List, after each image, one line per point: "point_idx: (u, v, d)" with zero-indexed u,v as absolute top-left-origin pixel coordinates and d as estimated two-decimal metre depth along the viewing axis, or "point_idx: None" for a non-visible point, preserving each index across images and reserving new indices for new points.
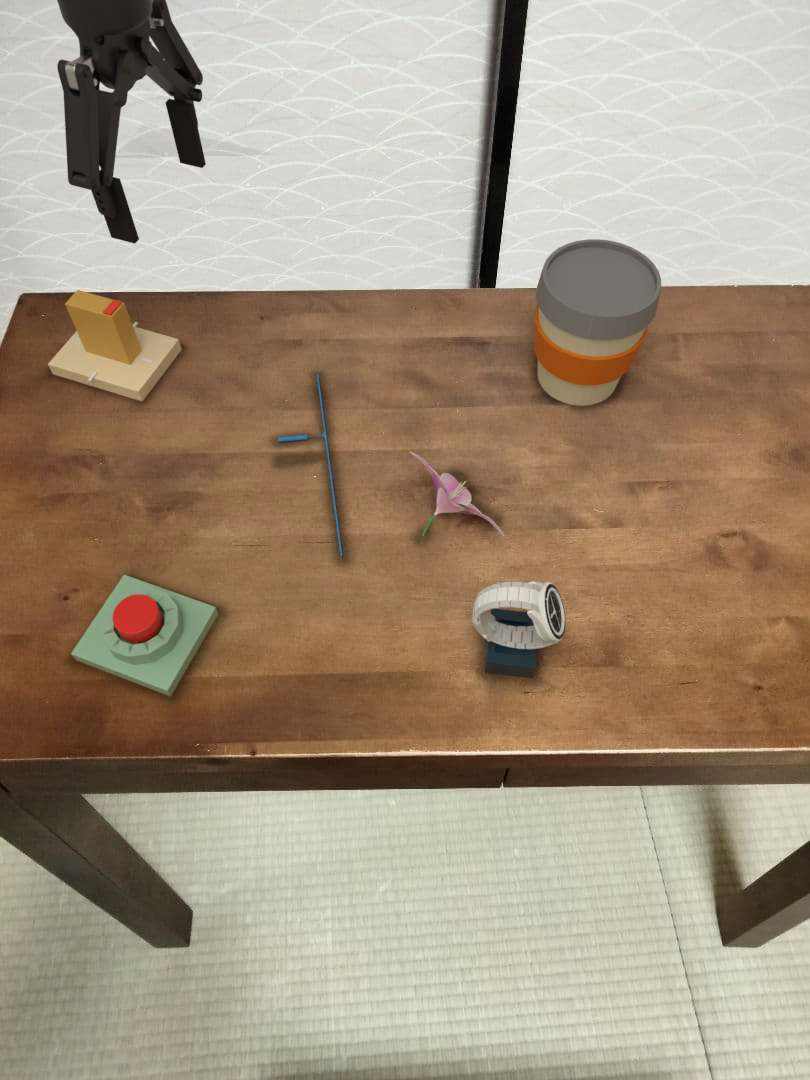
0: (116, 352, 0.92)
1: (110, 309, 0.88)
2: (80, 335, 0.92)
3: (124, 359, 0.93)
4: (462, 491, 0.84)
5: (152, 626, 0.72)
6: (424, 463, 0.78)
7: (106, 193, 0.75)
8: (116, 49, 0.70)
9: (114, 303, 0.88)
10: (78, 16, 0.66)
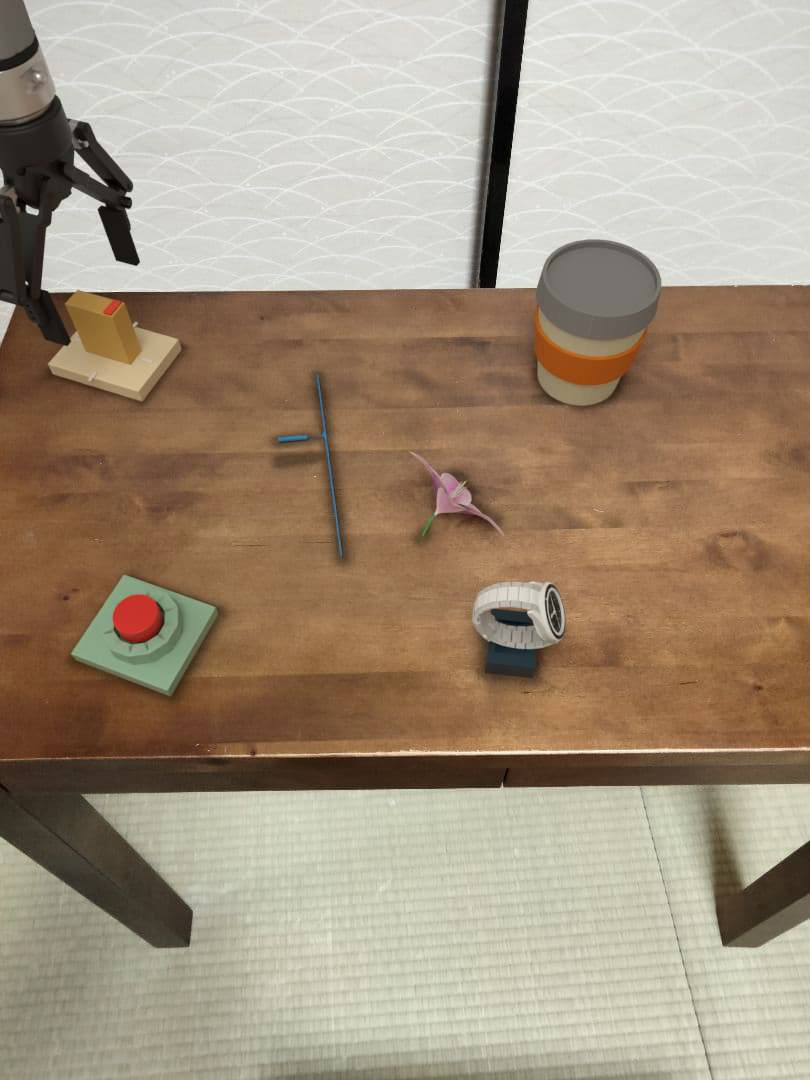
0: (116, 352, 0.92)
1: (110, 309, 0.88)
2: (80, 335, 0.92)
3: (124, 359, 0.93)
4: (462, 491, 0.84)
5: (152, 626, 0.72)
6: (424, 463, 0.78)
7: (35, 305, 0.79)
8: (39, 176, 0.74)
9: (114, 303, 0.88)
10: None
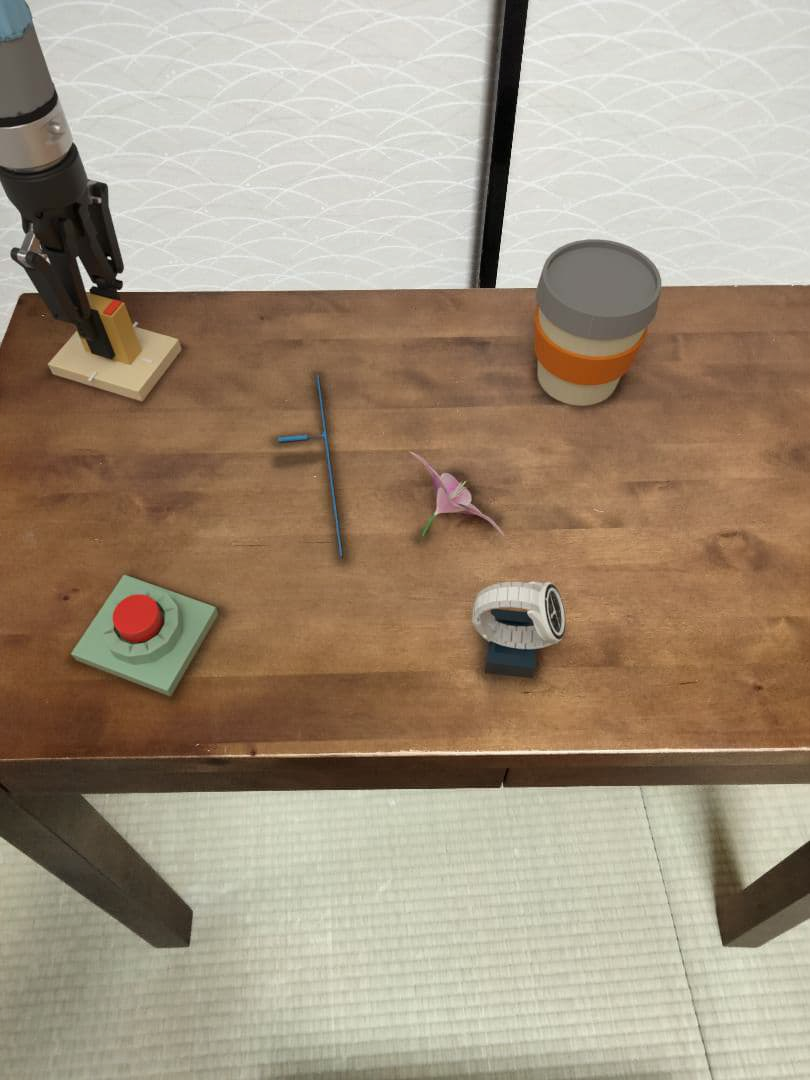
0: (116, 352, 0.92)
1: (110, 309, 0.88)
2: None
3: (124, 359, 0.93)
4: (462, 491, 0.84)
5: (152, 626, 0.72)
6: (424, 463, 0.78)
7: (86, 323, 0.87)
8: (50, 213, 0.77)
9: (114, 303, 0.88)
10: (18, 197, 0.74)
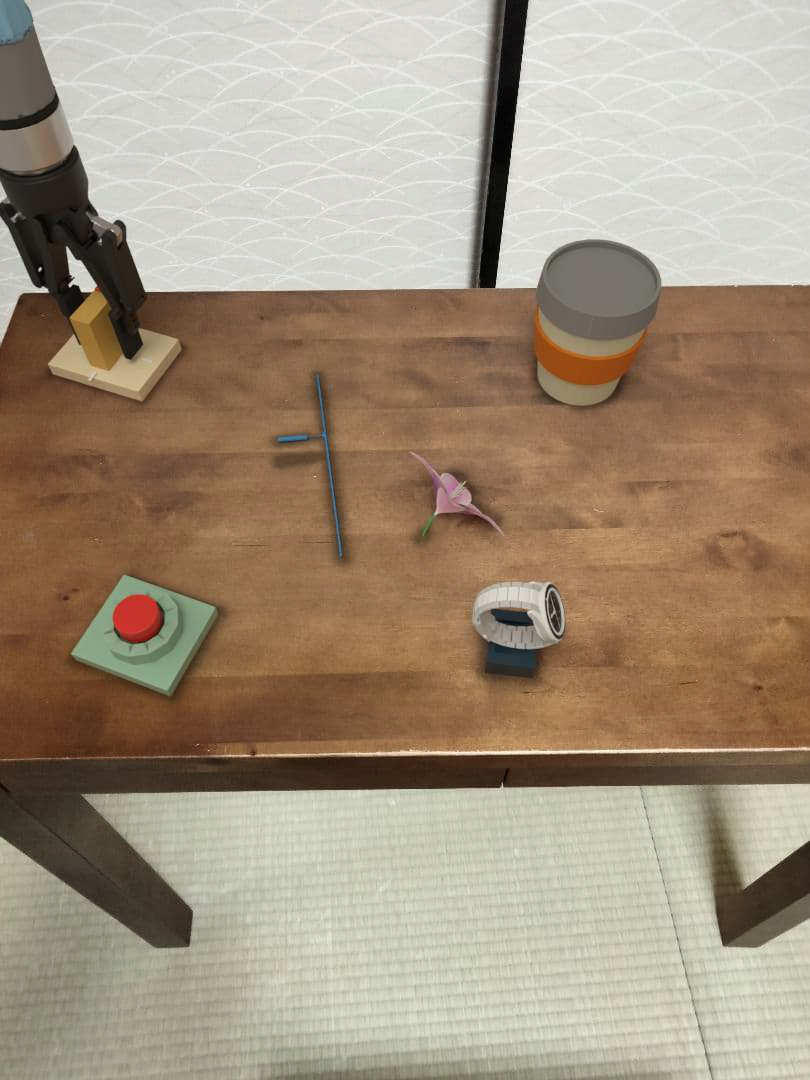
0: None
1: None
2: (103, 351, 0.91)
3: None
4: (462, 491, 0.84)
5: (152, 626, 0.72)
6: (424, 463, 0.78)
7: None
8: None
9: None
10: (77, 185, 0.75)
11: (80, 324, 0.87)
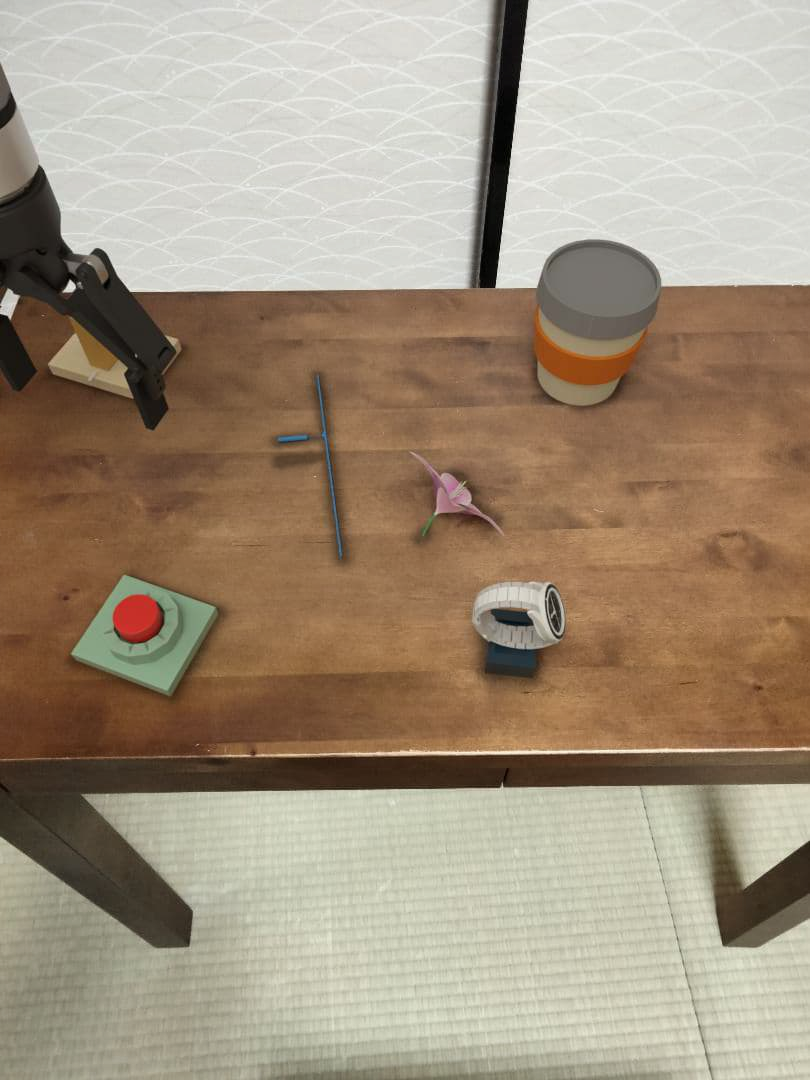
0: None
1: None
2: (103, 351, 0.91)
3: None
4: (462, 491, 0.84)
5: (152, 626, 0.72)
6: (424, 463, 0.78)
7: None
8: None
9: None
10: (45, 220, 0.56)
11: None
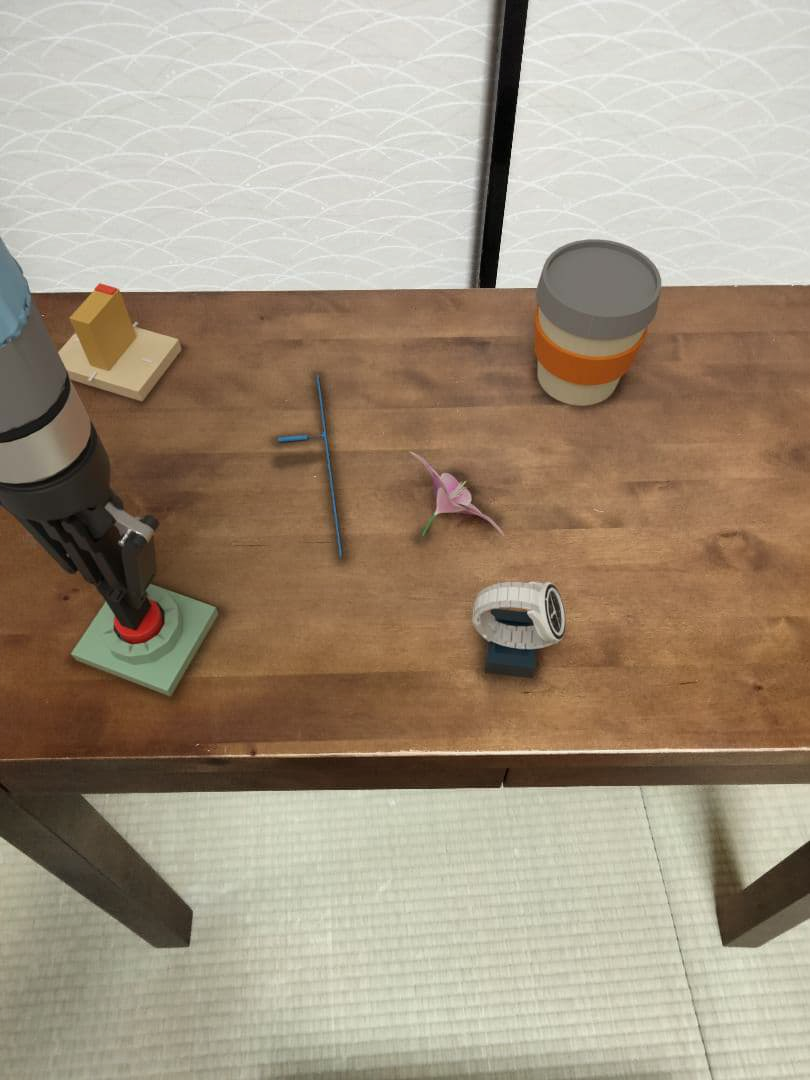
0: (126, 334, 0.94)
1: (109, 288, 0.89)
2: (103, 351, 0.91)
3: (132, 336, 0.95)
4: (462, 491, 0.84)
5: (153, 628, 0.72)
6: (424, 463, 0.78)
7: None
8: None
9: (101, 287, 0.90)
10: (95, 481, 0.54)
11: (80, 324, 0.87)
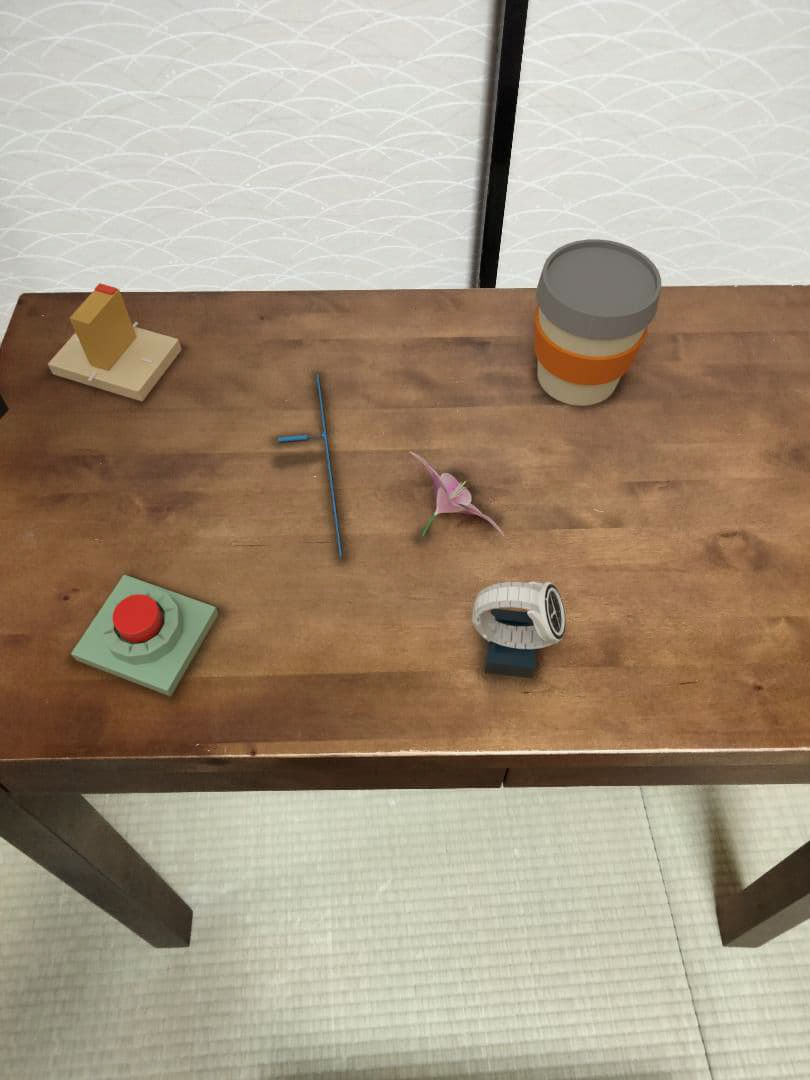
0: (126, 334, 0.94)
1: (109, 288, 0.89)
2: (103, 351, 0.91)
3: (132, 336, 0.95)
4: (462, 491, 0.84)
5: (152, 626, 0.72)
6: (424, 463, 0.78)
7: None
8: None
9: (101, 287, 0.90)
10: None
11: (80, 324, 0.87)
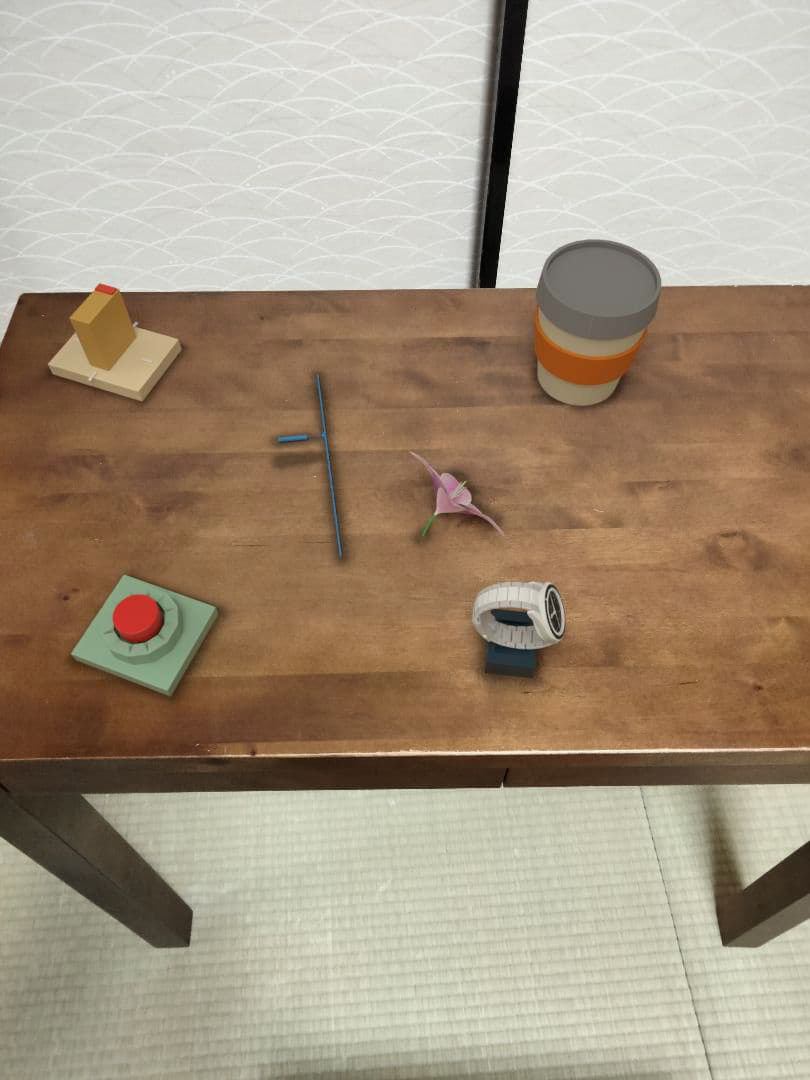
0: (126, 334, 0.94)
1: (109, 288, 0.89)
2: (103, 351, 0.91)
3: (132, 336, 0.95)
4: (462, 491, 0.84)
5: (152, 626, 0.72)
6: (424, 463, 0.78)
7: None
8: None
9: (101, 287, 0.90)
10: None
11: (80, 324, 0.87)
